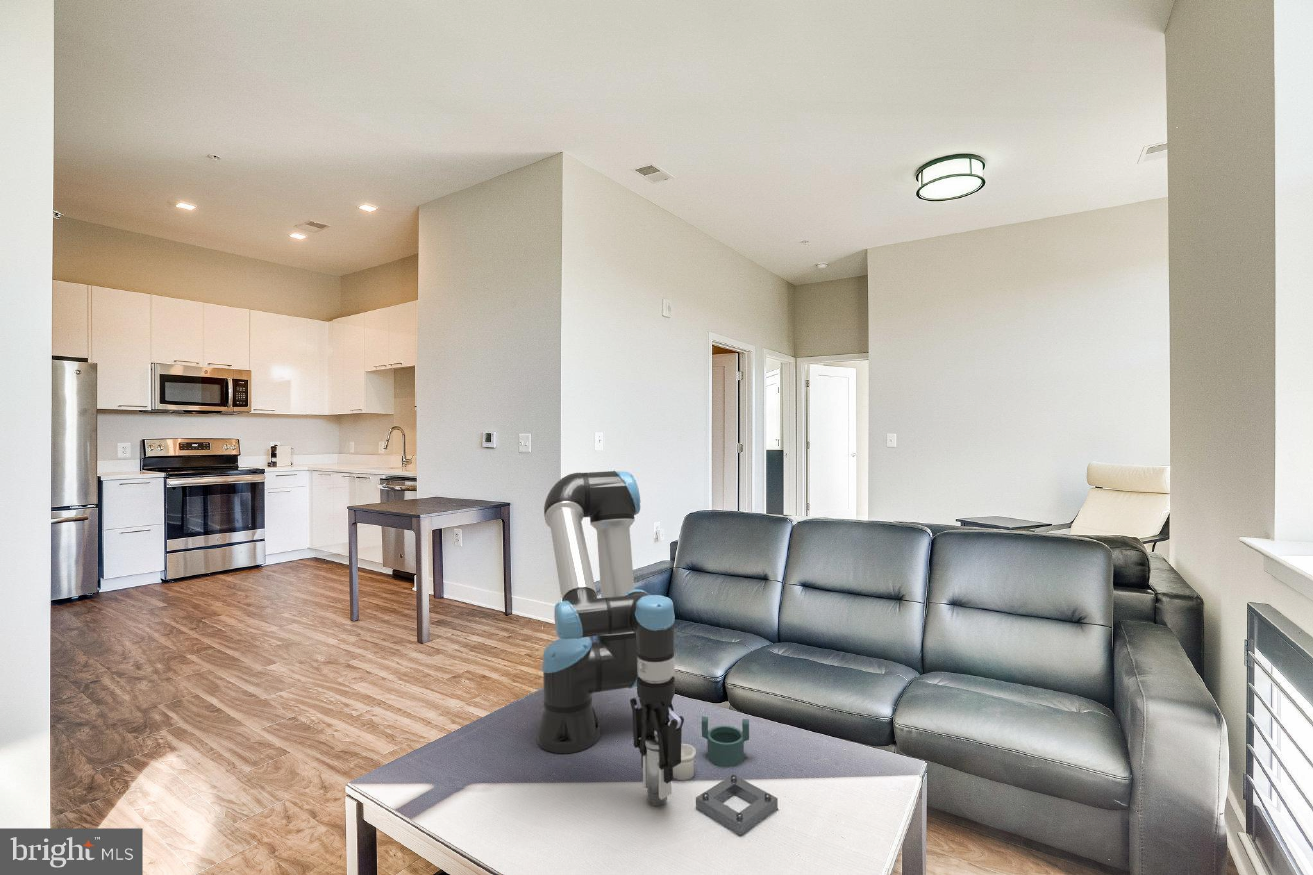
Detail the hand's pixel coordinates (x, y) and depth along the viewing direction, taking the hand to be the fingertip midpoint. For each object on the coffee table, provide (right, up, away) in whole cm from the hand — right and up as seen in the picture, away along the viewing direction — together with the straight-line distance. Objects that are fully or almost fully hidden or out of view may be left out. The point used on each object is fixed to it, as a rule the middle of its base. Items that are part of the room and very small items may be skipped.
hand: (657, 790), depth 123 cm
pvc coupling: (+6, -2, +10) cm, 12 cm away
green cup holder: (+16, -2, +17) cm, 23 cm away
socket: (+16, -2, -2) cm, 16 cm away
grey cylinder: (0, -2, 0) cm, 2 cm away
